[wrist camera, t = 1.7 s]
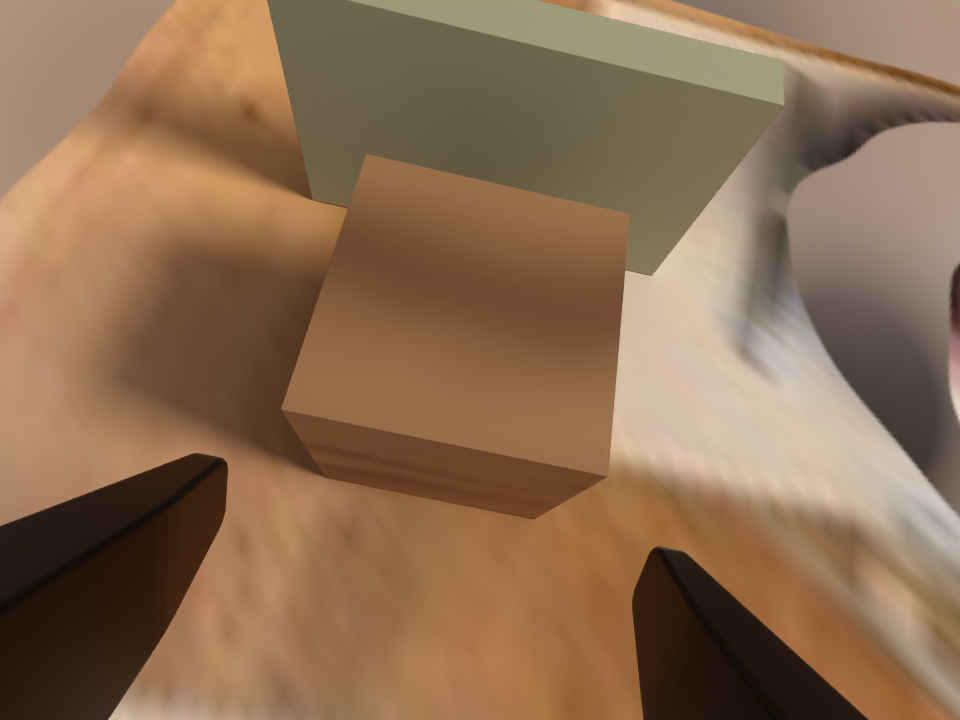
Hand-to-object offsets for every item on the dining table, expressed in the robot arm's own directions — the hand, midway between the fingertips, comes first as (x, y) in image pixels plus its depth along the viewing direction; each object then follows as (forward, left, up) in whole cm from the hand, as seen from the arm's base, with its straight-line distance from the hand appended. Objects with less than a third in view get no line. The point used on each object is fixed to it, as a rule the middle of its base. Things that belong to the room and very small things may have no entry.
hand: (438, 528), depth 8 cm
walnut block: (+7, +1, -14) cm, 15 cm away
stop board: (+15, +3, -14) cm, 21 cm away
